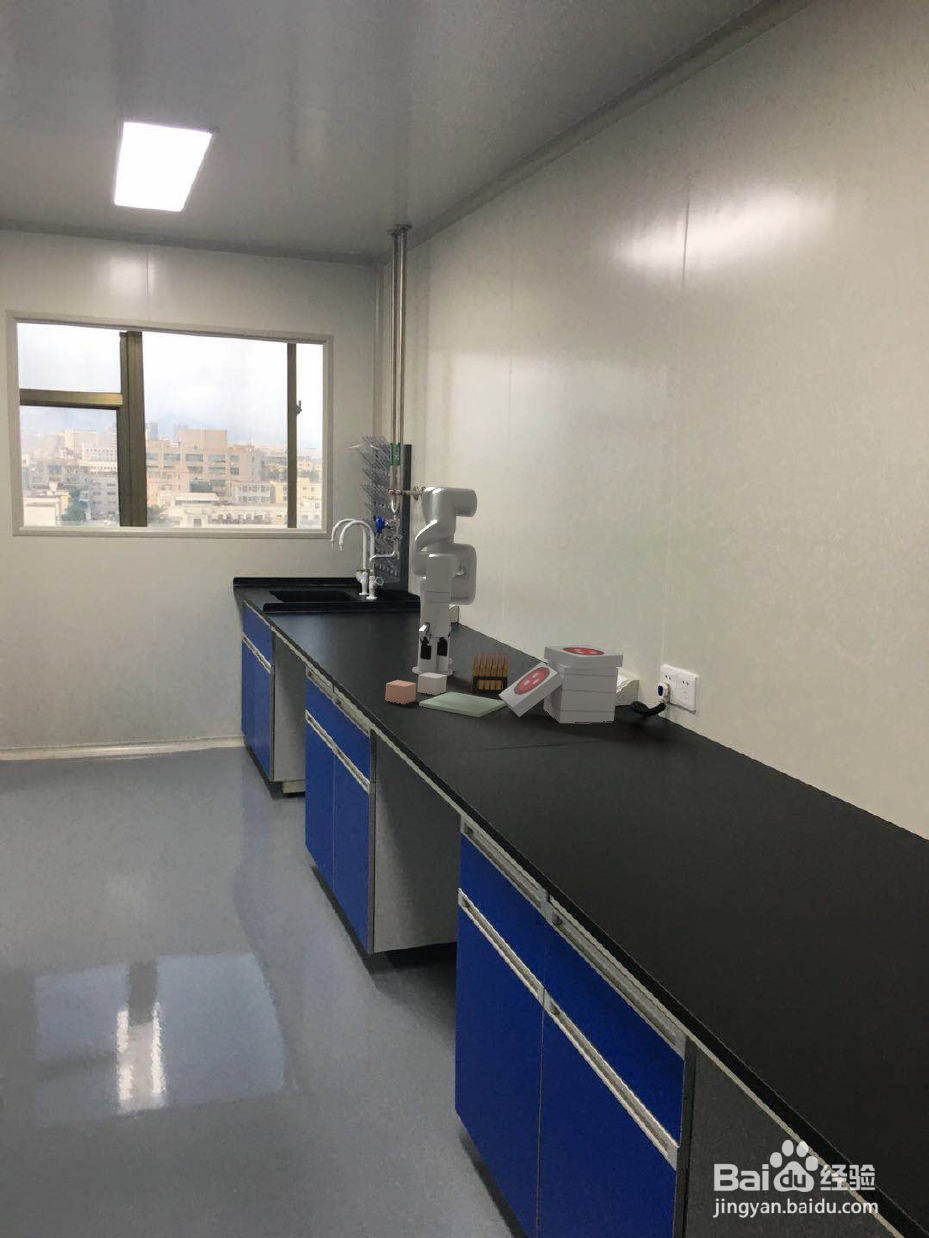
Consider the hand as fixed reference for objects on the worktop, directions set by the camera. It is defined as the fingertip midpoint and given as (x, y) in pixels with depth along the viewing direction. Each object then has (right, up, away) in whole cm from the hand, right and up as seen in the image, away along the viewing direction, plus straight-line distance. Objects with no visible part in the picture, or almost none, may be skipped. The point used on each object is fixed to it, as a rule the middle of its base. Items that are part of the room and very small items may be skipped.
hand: (433, 657), depth 281 cm
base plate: (+9, -13, -12) cm, 20 cm away
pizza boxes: (+34, -15, -17) cm, 41 cm away
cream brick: (-1, -10, +2) cm, 10 cm away
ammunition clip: (+16, -11, +6) cm, 20 cm away
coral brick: (-9, -12, -11) cm, 19 cm away
